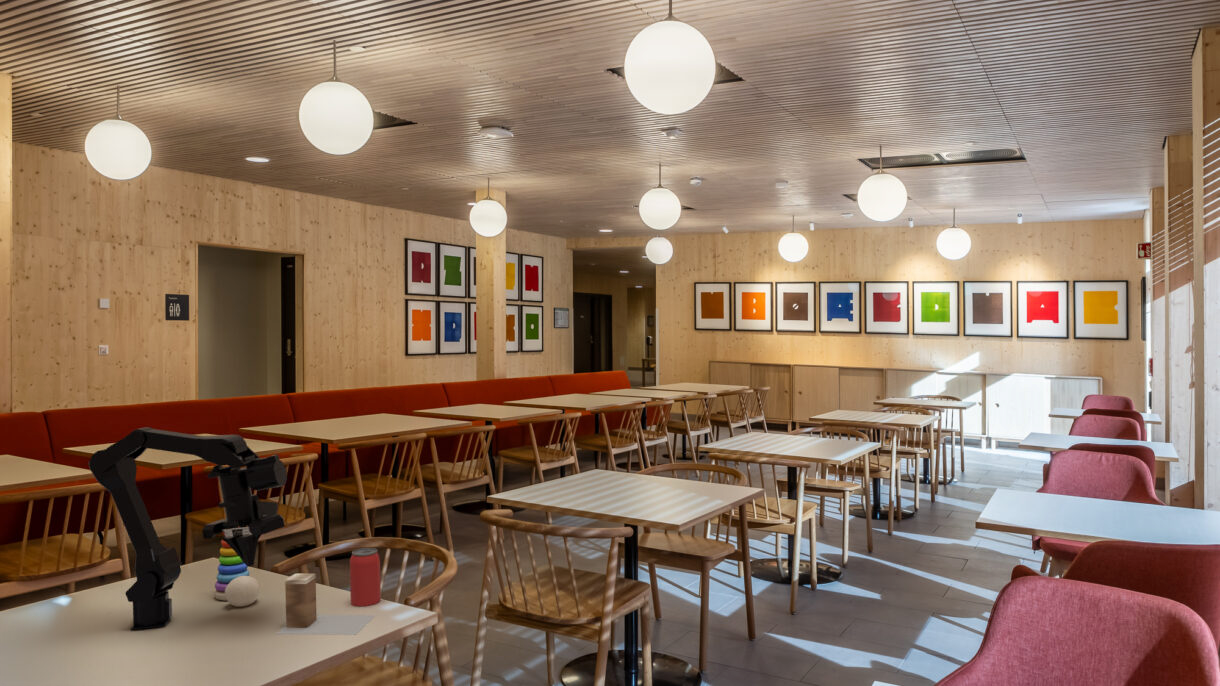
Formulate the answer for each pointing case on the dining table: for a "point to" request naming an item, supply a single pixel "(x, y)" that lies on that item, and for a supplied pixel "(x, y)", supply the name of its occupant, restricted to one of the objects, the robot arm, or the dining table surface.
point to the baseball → (242, 591)
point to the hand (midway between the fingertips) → (250, 565)
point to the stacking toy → (228, 569)
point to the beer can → (365, 577)
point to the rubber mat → (332, 625)
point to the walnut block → (300, 600)
